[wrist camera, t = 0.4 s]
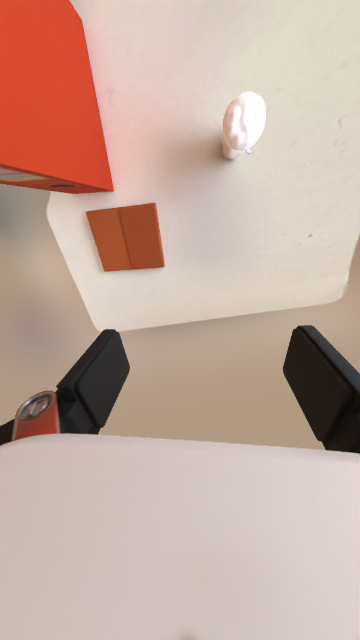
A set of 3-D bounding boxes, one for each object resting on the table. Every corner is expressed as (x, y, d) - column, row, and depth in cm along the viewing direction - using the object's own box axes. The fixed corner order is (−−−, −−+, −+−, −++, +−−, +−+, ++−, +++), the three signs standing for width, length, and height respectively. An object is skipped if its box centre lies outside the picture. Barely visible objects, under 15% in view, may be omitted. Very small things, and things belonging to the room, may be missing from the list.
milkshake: (221, 176, 29) (229, 161, 20) (215, 131, 26) (221, 93, 18) (250, 165, 28) (272, 145, 19) (247, 118, 25) (270, 70, 17)
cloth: (87, 211, 34) (84, 211, 33) (155, 203, 32) (154, 202, 31) (106, 270, 39) (103, 272, 38) (164, 266, 37) (163, 267, 36)
